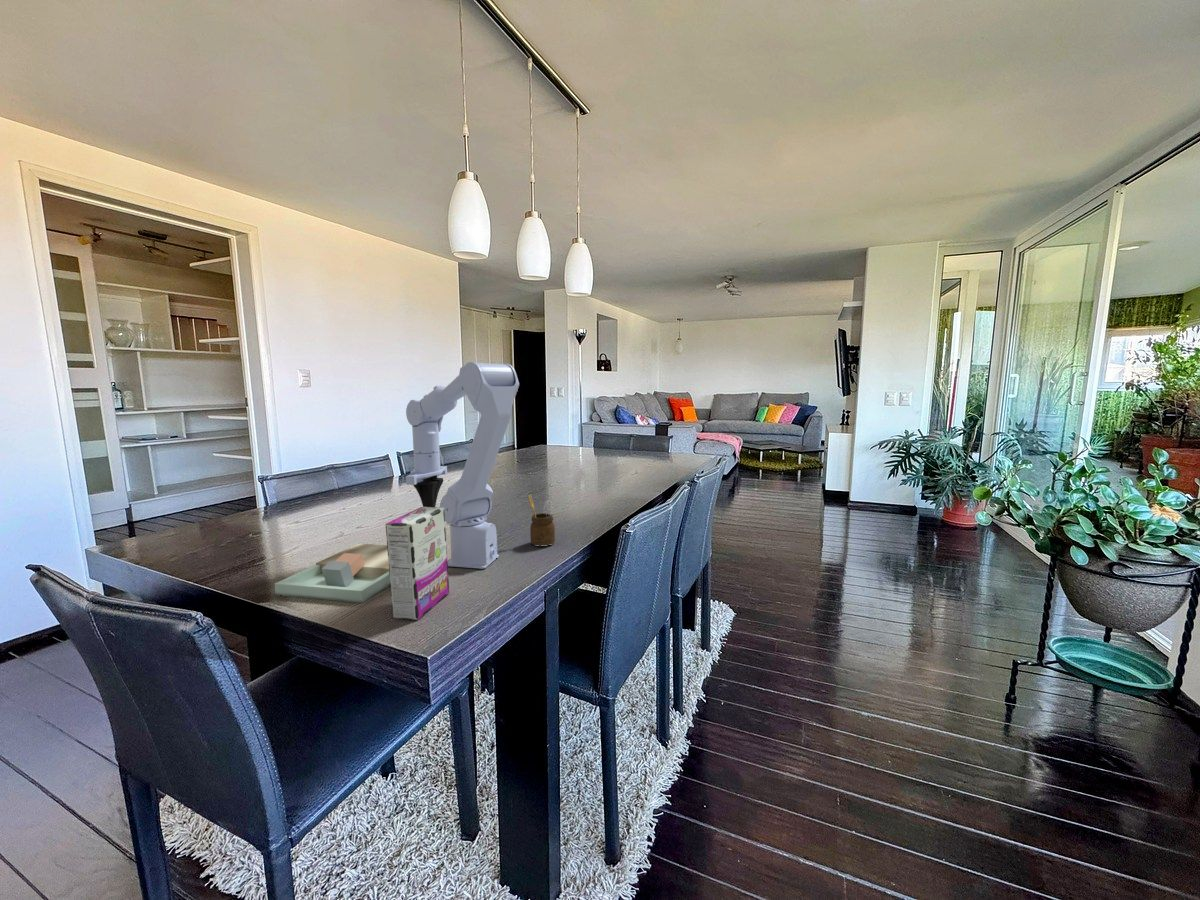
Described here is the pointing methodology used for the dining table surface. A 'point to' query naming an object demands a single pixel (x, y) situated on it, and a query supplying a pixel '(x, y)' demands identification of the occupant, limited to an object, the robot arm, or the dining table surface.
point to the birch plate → (365, 559)
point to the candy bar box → (417, 562)
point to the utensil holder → (542, 527)
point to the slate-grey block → (337, 574)
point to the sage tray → (315, 586)
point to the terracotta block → (352, 561)
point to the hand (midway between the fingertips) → (429, 509)
